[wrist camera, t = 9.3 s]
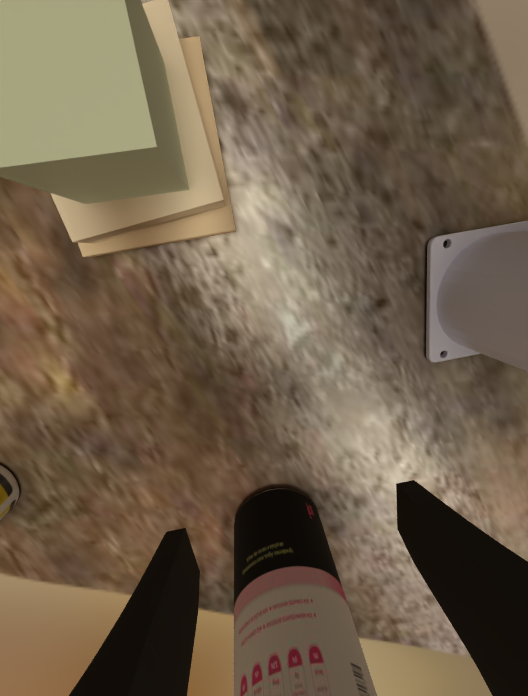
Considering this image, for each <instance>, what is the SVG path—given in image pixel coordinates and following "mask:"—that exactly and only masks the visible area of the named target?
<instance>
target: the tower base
mask: <svg viewBox="0 0 528 696" xmlns="http://www.w3.org/2000/svg"><path fill="white" fill-rule="evenodd" d="M179 42H180V45H181V49H182V52H183V56H184V60H185V63H186V67H187V70H188V74H189V77H190V81H191V85H192V88H193V92H194V95H195V99H196V102H197V106H198V110H199V113H200V117H201V120H202V124H203V127H204V131H205V135H206V138H207V142H208V145H209V149H210V153H211V156H212V160H213V163H214V167H215V170H216V174H217V178H218V181H219V185H220V188H221V192H222V195H223V199H224V203H225V207H222V208H218V209H215V210H211V211H208V212H204V213H200V214H197V215H193V216H190V217H186V218H183V219H179V220H175V221H172V222H168V223H165V224H161V225H158V226H154V227H151V228H147V229H143V230H140V231H136V232H133V233H129V234H126V235H122V236H119V237H115V238H111V239H108V240H104V241H101V242H97V243H94V244H92V243H78V245H79V248H80V250H81V253H82V256H83V257H95V256H101V255H107V254H112V253H118V252H123V251H129V250H135V249H140V248H146V247H151V246H157V245H163V244H168V243H174V242H180V241H185V240H191V239H196V238H202V237H208V236H213V235H219V234H225V233H230V232H236V230H235V224H234V219H233V214H232V208H231V203H230V198H229V192H228V187H227V182H226V176H225V171H224V166H223V161H222V155H221V150H220V145H219V139H218V134H217V129H216V123H215V118H214V113H213V107H212V102H211V97H210V91H209V86H208V81H207V75H206V70H205V65H204V59H203V54H202V49H201V43H200V38H199V36H197V37H191V38H184V39H179Z"/></svg>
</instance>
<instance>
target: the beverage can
mask: <svg viewBox="0 0 528 696" xmlns="http://www.w3.org/2000/svg"><path fill="white" fill-rule="evenodd" d="M234 696H377V694H376V691H375V688H374V685H373V682H372V679H371V676H370V672H369V669H368V666H367V663H366V660H365V657H364V654H363V651H362V648H361V645H360V641H359V638H358V635H357V632H356V629H355V626H354V623H353V620H352V617H351V613H350V610H349V607H348V604H347V601H346V598H345V595H344V592H343V589H342V585H341V582H340V579H339V576H338V573H337V570H336V567H335V564H334V561H333V557H332V554H331V551H330V548H329V545H328V542H327V539H326V536H325V533H324V529H323V526H322V523H321V520H320V517H319V514H318V511H317V508H316V506H315V505H314V503H313V502H312V501H311V499H309V498H308V497H307V496H306V495H304V494H302V493H300V492H298V491H295V490H290V489H282V488H278V489H270V490H266V491H263V492H261V493H259V494H257V495H255V496H253V497H252V498H250V499H249V500H248V501H246V502H245V503H244V504H243V505H242V507H241V508H240V509H239V511H238V513H237V515H236V518H235V523H234Z"/></svg>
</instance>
